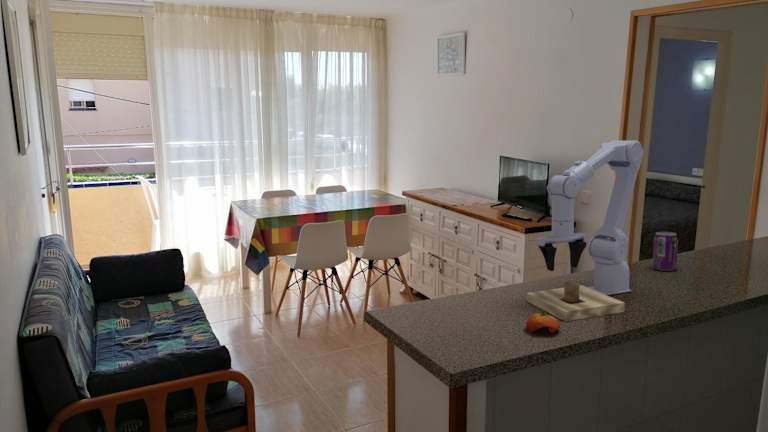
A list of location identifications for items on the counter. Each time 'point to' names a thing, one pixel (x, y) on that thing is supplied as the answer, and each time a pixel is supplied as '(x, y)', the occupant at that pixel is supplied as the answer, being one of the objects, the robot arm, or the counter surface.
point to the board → (586, 308)
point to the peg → (571, 292)
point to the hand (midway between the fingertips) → (562, 268)
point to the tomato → (542, 322)
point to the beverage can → (665, 251)
